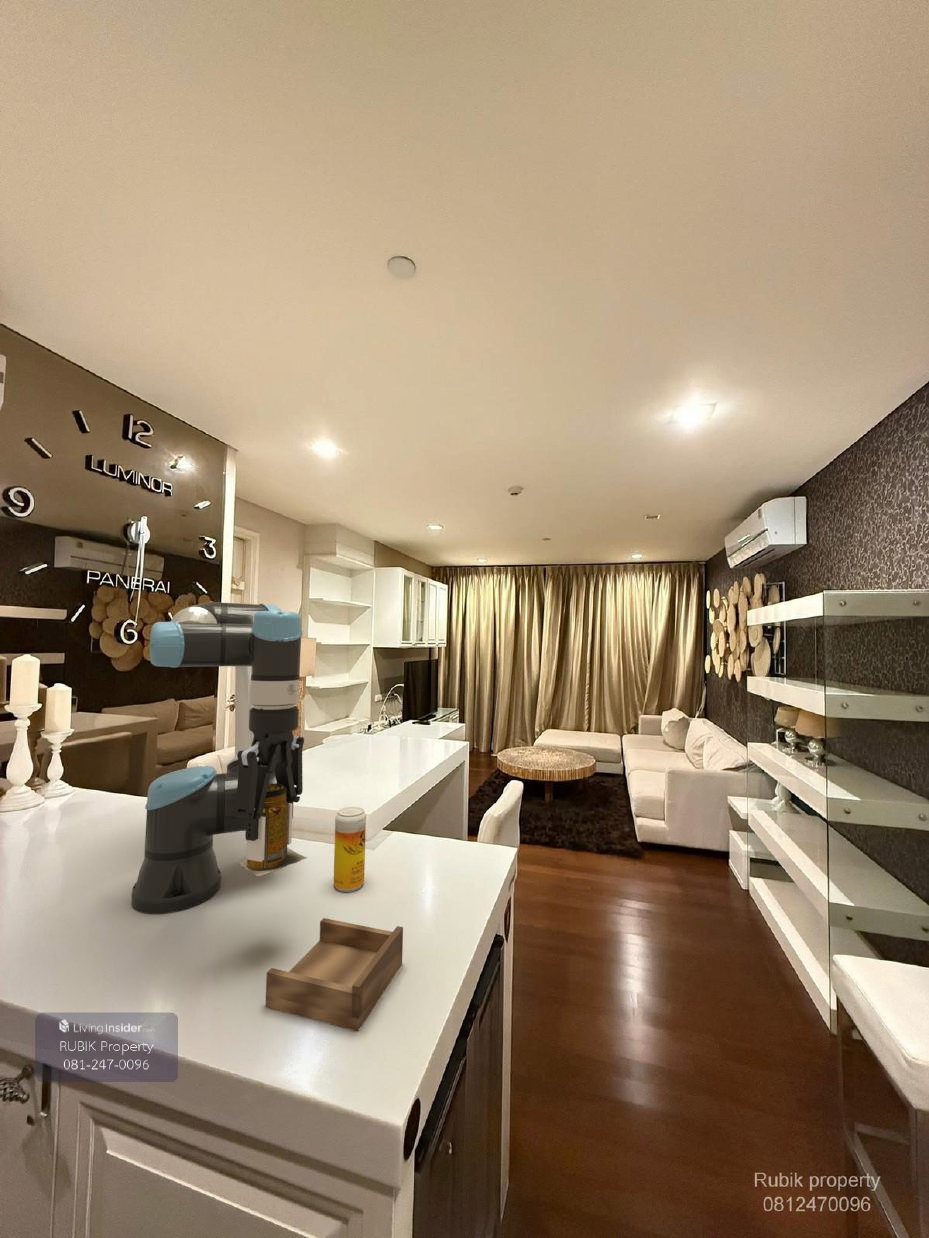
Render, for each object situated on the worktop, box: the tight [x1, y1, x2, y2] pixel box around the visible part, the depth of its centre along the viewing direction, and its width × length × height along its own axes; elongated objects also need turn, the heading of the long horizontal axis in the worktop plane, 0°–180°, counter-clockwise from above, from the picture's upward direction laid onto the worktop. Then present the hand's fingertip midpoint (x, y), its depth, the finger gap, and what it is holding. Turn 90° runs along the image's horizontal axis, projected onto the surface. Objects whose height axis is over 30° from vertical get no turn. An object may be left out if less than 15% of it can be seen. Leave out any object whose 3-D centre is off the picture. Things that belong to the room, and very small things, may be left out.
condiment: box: [236, 784, 308, 877], centre depth 81 cm, size 7×8×12 cm
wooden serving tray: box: [264, 917, 404, 1032], centre depth 72 cm, size 14×14×6 cm
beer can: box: [333, 806, 367, 893], centre depth 101 cm, size 6×6×15 cm
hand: (269, 850), depth 80 cm, fingers closed on condiment, 6 cm apart
